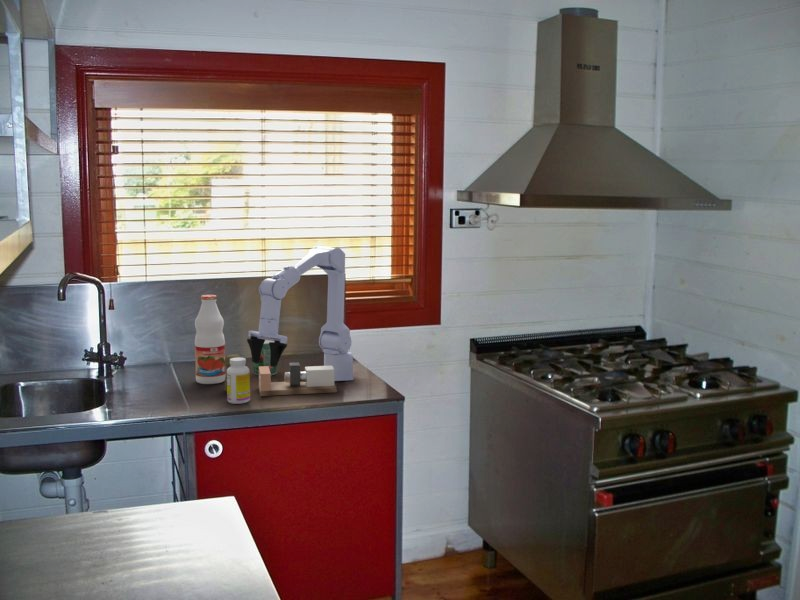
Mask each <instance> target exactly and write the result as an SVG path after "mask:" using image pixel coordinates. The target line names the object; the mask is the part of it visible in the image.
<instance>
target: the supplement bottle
mask: <svg viewBox="0 0 800 600" xmlns="http://www.w3.org/2000/svg"><path fill="white" fill-rule="evenodd" d="M246 363H247V359H246V357H241V358H240V357H237V358H231V359H230V365H231V367H229V368H228V369H227V391H226V394H227V395H226V397H227V399H226V400H227V402H228V403H230V404H235V405H241V404H246V403H248V402H250V401H251V381H250V377H251V376H250V368H249V367H248V366H246Z"/></svg>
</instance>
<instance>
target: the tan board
mask: <svg viewBox="0 0 800 600" xmlns="http://www.w3.org/2000/svg"><path fill="white" fill-rule="evenodd" d="M257 384H258V388H257V389H258V391H259V396H260V397H266V396H267V397H268V396H269V397H270V396H283V395H284V396H285V395H288V396H290V395H303V394H304V395H306V394H307V395H310V394H328V393H337V392H338V389H337V388H338V387H337V386H336V384H335V383H334V386H316V387H307V386H306V384H305V382H300V385H299V386H290V383H285V381H271V391H261V389H260V385H259V382H258V383H257Z"/></svg>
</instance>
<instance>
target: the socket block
mask: <svg viewBox="0 0 800 600" xmlns="http://www.w3.org/2000/svg"><path fill="white" fill-rule="evenodd" d="M271 378H272V375H271V373H270V370H269V366H259V375H258V383H259V385H260V389H261V391H271V382H272V380H271Z"/></svg>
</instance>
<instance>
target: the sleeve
mask: <svg viewBox="0 0 800 600" xmlns="http://www.w3.org/2000/svg"><path fill="white" fill-rule="evenodd" d="M304 372H307V382H305V384H306V386H307V387H316V386H334V384H335V381H334V368H333V366H324V365H314V366H313V365H312V366H305V367H304Z"/></svg>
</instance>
